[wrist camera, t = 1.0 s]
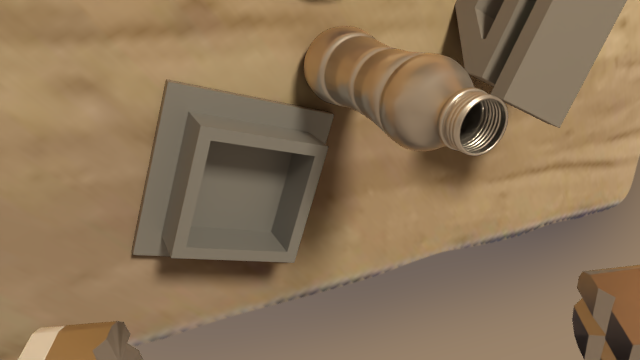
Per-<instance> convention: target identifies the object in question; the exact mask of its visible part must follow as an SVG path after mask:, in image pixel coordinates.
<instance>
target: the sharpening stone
mask: <svg viewBox="0 0 640 360" xmlns="http://www.w3.org/2000/svg"><path fill="white" fill-rule="evenodd" d="M626 1H627V0H457V1H456V3H455V8H456V14H457V21H458V28H459V34H460V41H461V47H462V54H463V60H464V67H465V70H466V71H467V73H468V74H470V75H472V76H474V77H475V78H477V79H479V80H481V81H483V82H485V83H487V84H489V85H491V86H493V87H494V88H493V90H492V92H491V94H490V95H493V96H496V97H498V98H499V99H501V100H502V101H503V102H505V103H507V104H509V105H511V106H513V107H515V108H517V109H519V110H521V111H523V112H525V113H527V114H529V115H531V116H533V117H535V118H537V119H539V120H541V121H543V122H545V123H548V124H550V125H553V126H556V127H559V128H560V126H561V124H562V122H563V121H564V119H565V117H566V115H567V113H568V111H569V109H570V107H571V105H572V103H573V102H574V100H575V98H576V96H577V94H578V92H579V90H580V88H581V86H582V85H583V83H584V81H585V79H586V77H587V75H588V73H589V71H590V69H591V67H592V66H593V64H594V62H595V60H596V58H597V56H598V54H599V52H600V50H601V49H602V47H603V45H604V43H605V41H606V39H607V37H608V35H609V33H610V31H611V30H612V28H613V26H614V24H615V22H616V20H617V18H618V16H619V14H620V12H621V11H622V9H623V7H624V5H625V3H626Z"/></svg>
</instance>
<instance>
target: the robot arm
mask: <svg viewBox="0 0 640 360" xmlns="http://www.w3.org/2000/svg"><path fill="white" fill-rule="evenodd" d="M577 289H578V291H579V293H580V294H581V296H582V299H581V300H580V301H579V302H578V303H577V304H575V305H574V309H573V318H572V322H573V329H574V336H575V339H576V342H577V345H578V348H579V350H580V352H581V354H582V356H583V358H584V360H640V265H633V266H625V267H616V268H608V269H599V270H592V271H591V270H590V271H583V272H582V273H581V275H580V276H579V279H578V285H577ZM129 337H130V332H129V331H128V329H127V327H126V325H125V324H124V322H119V321H113V322H101V323H88V324H76V325H66V326H56V327H44V328H39V329H38V330H37V331H35V332H34V333H33V334H32V335H31V337H30V339H29V341H28V342H27V344H26V346H25V348H24V350H23V351H22V353H21V355H20V357H19V358H18V360H143V358H142V356H141V355H140V352H139V350H137V349H136V348H134V347H133V346H131V345H129V344H128V343H127V342H128V340H129Z"/></svg>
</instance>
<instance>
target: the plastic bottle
mask: <svg viewBox="0 0 640 360" xmlns="http://www.w3.org/2000/svg"><path fill="white" fill-rule="evenodd" d="M304 74H305V78H306V81H307V83H308V85H309V86H310V88H311V89H312V90H313V91H314V93H315V94H316V95H317V96H318V97H319V98H320V99H322V100H324V101H326V102H328V103H331V104H334V105H338V106H343V107H348V108H350V109H353V110H355V111H358V112H360V113H361V114H363V115H365V116H366V117H367V118H369V119H370V120H371V121H373V122H374V123H375V124H376V125H377V126H378V127H379V128H381V129H382V130H383V131H384V132H385V133H386V134H387V135H388V136H389V137H390V138H391V139H392V140H393V141H395V142H396V143H397V144H399V145H400V146H402V147H404V148H406V149H410V150H417V151H431V150H435V149H438V148H441V147H444V146H447V147H448V148H450V149H453V150H457V151H461V152H463V153H465V154H467V155H471V156H479V155H482V154H485V153H487V152H488V151H490V150H491V149H493V148H494V147H495V146H496V145H497V143H498V142H499V141H500V140H501V138H502V136H503V134H504V132H505V130H506V127H507V123H508V111H507V107H506V105H505V103H504V102H503V101H502V100H501V99H499V98H498V97H496V96H493V95H490V94H487V93H486V92H485V91H483V90H480V89H477V88H475V87H474V85H473V82H472V80H471V78H470V76H469V74H468V73H467V71H466V70H465V69H464V68H463V67H462V66H461V65H460V64H459V63H458V62H457V61H455V60H454V59H452V58H450V57H447V56H444V55H440V54H435V53H420V52H408V51H404V50H400V49H395V48H391V47H389V46H387V45H385V44H383V43H381V42H379V41H377V40H376V39H375V38H374V37H373V36H371V35H370V34H368V33H366V32H365V31H363V30H362V29H360V28H357V27H351V26H340V27H333V28H330V29H328V30H326V31H324V32H322V33H321V34H320V35H319V36H317V37H316V38H315V39H314V41H313V42H312V43H311V45H310V47H309V49H308V50H307V53H306V56H305V61H304Z"/></svg>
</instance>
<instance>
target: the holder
mask: <svg viewBox="0 0 640 360" xmlns="http://www.w3.org/2000/svg"><path fill="white" fill-rule="evenodd" d="M333 117H334V114H332V113H330V112H326V111H321V110H316V109H311V108H306V107H301V106H296V105H291V104H286V103H281V102H276V101H271V100H266V99H261V98H256V97H251V96H246V95H241V94H236V93H231V92H226V91H221V90H216V89H211V88H206V87H201V86H196V85H191V84H186V83H181V82H176V81H171V80H166V83H165V88H164V93H163V97H162V102H161V107H160V112H159V117H158V122H157V127H156V132H155V137H154V142H153V147H152V152H151V157H150V162H149V167H148V172H147V177H146V182H145V187H144V192H143V197H142V202H141V206H140V211H139V216H138V221H137V226H136V231H135V236H134V241H133V246H132V253H133V255H149V256H170V257H171V258H183V259H210V260H237V261H263V262H290V263H294V262H295V259H296V255H297V252H298V248H299V245H300V242H301V238H302V235H303V232H304V228H305V225H306V221H307V218H308V215H309V211H310V208H311V205H312V201H313V198H314V194H315V191H316V188H317V184H318V181H319V178H320V174H321V171H322V167H323V164H324V161H325V157H326V154H327V151H328V147H329V146H327V145H326V141H327V137H328V134H329V131H330V127H331V124H332V120H333Z"/></svg>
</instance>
